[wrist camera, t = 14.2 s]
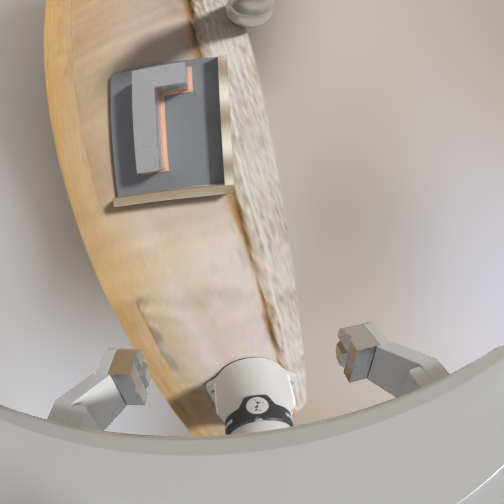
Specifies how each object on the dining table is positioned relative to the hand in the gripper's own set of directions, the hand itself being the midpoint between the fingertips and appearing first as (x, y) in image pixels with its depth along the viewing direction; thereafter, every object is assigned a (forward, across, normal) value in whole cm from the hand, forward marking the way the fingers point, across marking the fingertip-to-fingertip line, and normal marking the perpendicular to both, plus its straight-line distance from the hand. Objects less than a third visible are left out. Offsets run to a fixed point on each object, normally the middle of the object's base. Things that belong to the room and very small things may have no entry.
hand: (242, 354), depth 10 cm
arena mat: (+31, +7, -12) cm, 34 cm away
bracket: (+30, +7, -13) cm, 34 cm away
